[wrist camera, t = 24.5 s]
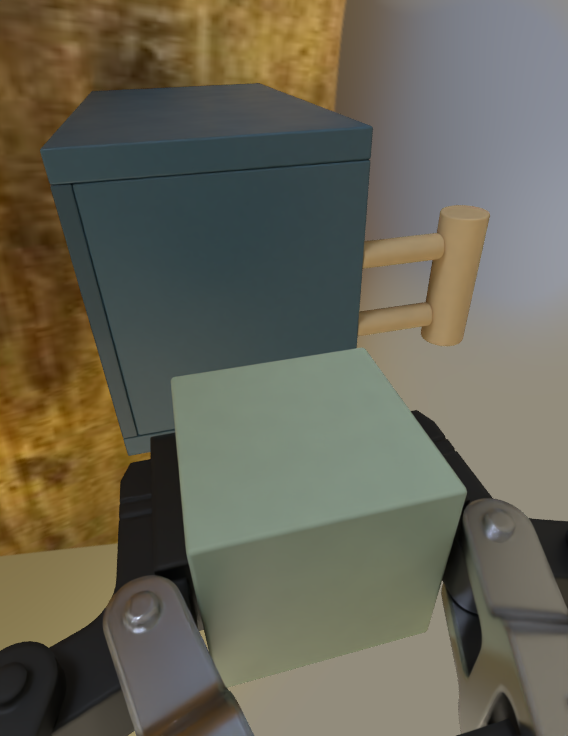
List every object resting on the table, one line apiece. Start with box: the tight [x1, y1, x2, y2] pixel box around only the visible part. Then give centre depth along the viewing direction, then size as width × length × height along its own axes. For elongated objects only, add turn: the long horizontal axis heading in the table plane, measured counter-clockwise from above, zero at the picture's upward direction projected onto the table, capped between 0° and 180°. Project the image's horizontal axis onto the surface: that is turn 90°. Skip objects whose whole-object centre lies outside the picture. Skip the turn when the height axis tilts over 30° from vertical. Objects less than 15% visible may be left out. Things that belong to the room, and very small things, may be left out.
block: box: [171, 348, 467, 688], centre depth 11 cm, size 5×5×5 cm
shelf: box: [40, 83, 490, 456], centre depth 25 cm, size 18×12×15 cm
